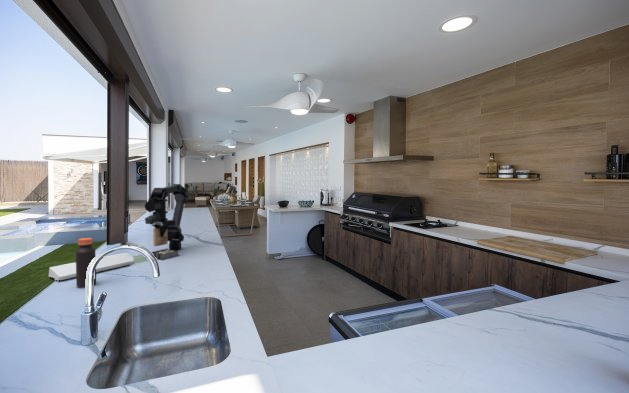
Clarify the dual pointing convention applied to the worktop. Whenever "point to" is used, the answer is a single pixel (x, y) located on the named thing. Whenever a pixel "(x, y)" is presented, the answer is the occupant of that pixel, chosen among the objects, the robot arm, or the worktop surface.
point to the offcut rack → (165, 256)
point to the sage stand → (139, 259)
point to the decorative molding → (105, 264)
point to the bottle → (84, 260)
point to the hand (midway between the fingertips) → (160, 236)
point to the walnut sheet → (159, 237)
